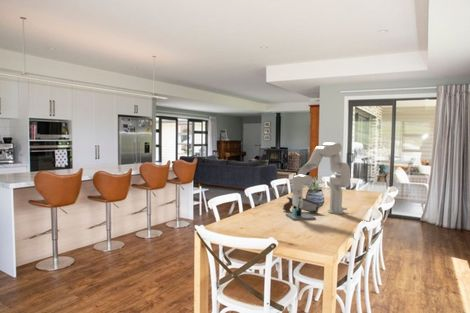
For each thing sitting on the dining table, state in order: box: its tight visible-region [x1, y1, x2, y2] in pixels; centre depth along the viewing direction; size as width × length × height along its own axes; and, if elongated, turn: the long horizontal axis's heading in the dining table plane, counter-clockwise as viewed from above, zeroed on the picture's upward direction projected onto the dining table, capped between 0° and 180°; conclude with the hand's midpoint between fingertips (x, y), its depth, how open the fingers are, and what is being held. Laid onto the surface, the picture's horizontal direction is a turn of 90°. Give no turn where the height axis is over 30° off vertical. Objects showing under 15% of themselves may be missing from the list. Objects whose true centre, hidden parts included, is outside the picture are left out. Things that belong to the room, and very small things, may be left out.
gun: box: [282, 196, 320, 214], centre depth 273 cm, size 5×27×15 cm, turn 79°
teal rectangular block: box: [291, 207, 303, 217], centre depth 255 cm, size 6×6×5 cm
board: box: [285, 212, 317, 221], centre depth 255 cm, size 18×16×6 cm
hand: (296, 214), depth 255 cm, fingers open, 6 cm apart
